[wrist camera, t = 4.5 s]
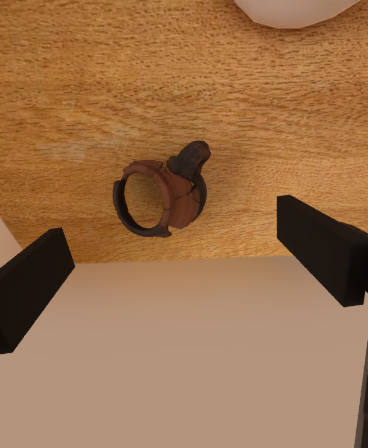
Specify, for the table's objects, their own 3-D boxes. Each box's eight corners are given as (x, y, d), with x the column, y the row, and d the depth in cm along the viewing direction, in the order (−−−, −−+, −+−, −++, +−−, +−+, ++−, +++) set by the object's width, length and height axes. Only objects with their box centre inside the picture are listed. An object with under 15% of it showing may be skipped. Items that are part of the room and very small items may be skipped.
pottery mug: (188, 237, 33) (151, 263, 26) (138, 191, 34) (92, 203, 28) (245, 163, 27) (219, 170, 20) (182, 112, 28) (137, 101, 21)
